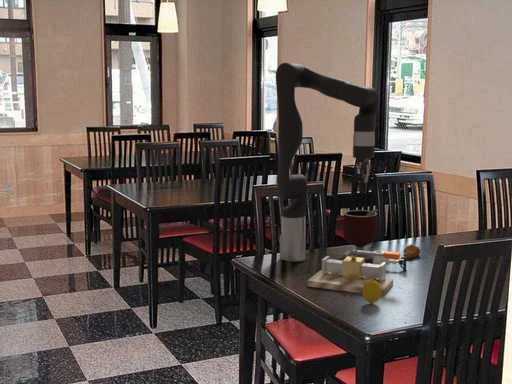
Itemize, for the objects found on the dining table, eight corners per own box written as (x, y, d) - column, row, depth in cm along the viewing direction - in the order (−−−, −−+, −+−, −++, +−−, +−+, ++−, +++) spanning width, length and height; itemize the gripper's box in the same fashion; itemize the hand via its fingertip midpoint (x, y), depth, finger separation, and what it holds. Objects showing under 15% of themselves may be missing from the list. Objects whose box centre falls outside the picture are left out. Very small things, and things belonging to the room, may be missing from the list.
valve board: (307, 286, 212) (307, 280, 212) (320, 275, 224) (320, 270, 223) (383, 296, 201) (383, 290, 201) (393, 284, 213) (393, 278, 213)
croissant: (417, 261, 241) (418, 249, 240) (399, 260, 244) (400, 247, 243) (423, 253, 253) (423, 241, 252) (406, 251, 256) (406, 239, 255)
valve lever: (348, 254, 213) (348, 249, 213) (351, 252, 216) (351, 247, 215) (398, 259, 206) (398, 254, 206) (400, 258, 209) (400, 252, 208)
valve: (371, 271, 229) (405, 273, 226) (372, 253, 228) (406, 255, 225) (373, 266, 235) (406, 268, 232) (374, 249, 234) (407, 251, 231)
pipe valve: (321, 275, 217) (321, 253, 216) (327, 271, 222) (327, 249, 221) (381, 283, 208) (382, 259, 207) (385, 278, 214) (386, 255, 212)
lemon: (360, 301, 197) (360, 276, 195) (377, 300, 197) (378, 276, 196) (364, 307, 191) (365, 282, 190) (382, 306, 192) (383, 281, 190)
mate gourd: (334, 255, 251) (335, 205, 248) (357, 249, 260) (358, 201, 257) (365, 262, 240) (366, 211, 236) (387, 256, 248) (389, 206, 245)
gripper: (369, 146, 214) (368, 196, 216) (378, 142, 225) (377, 190, 228) (347, 145, 217) (347, 195, 220) (358, 142, 229) (357, 189, 231)
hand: (362, 192), depth 224 cm, fingers closed
